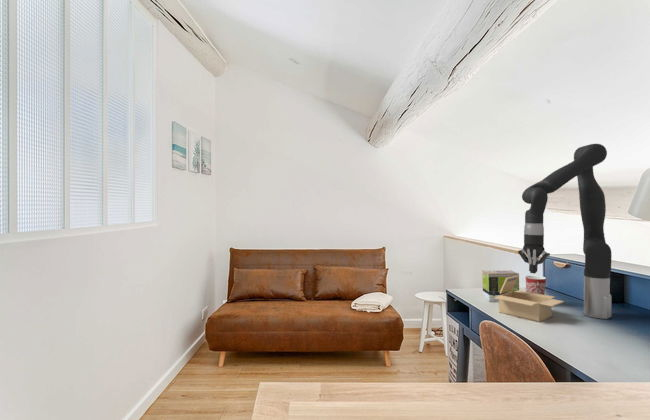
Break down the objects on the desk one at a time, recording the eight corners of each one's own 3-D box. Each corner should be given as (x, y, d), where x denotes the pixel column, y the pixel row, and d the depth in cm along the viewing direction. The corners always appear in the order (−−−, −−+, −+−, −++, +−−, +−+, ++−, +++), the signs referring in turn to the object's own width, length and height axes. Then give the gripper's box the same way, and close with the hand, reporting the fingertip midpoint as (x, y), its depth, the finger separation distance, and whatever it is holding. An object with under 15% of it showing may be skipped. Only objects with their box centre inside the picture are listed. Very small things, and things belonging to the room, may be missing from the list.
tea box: (511, 297, 196) (511, 269, 196) (519, 302, 186) (519, 273, 186) (482, 297, 198) (482, 269, 198) (488, 302, 188) (488, 272, 188)
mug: (549, 307, 177) (549, 279, 177) (528, 306, 180) (528, 278, 179) (540, 300, 190) (540, 274, 190) (520, 299, 192) (520, 273, 192)
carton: (568, 317, 162) (568, 298, 162) (546, 327, 149) (546, 307, 148) (517, 306, 179) (517, 289, 179) (493, 314, 166) (493, 296, 166)
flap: (512, 290, 176) (518, 275, 173) (500, 293, 169) (507, 278, 167) (510, 289, 176) (517, 275, 173) (499, 292, 170) (506, 277, 167)
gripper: (554, 234, 160) (553, 274, 160) (522, 232, 170) (521, 270, 171) (546, 235, 155) (545, 276, 155) (514, 232, 166) (513, 271, 166)
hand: (533, 273), depth 163 cm, fingers closed
